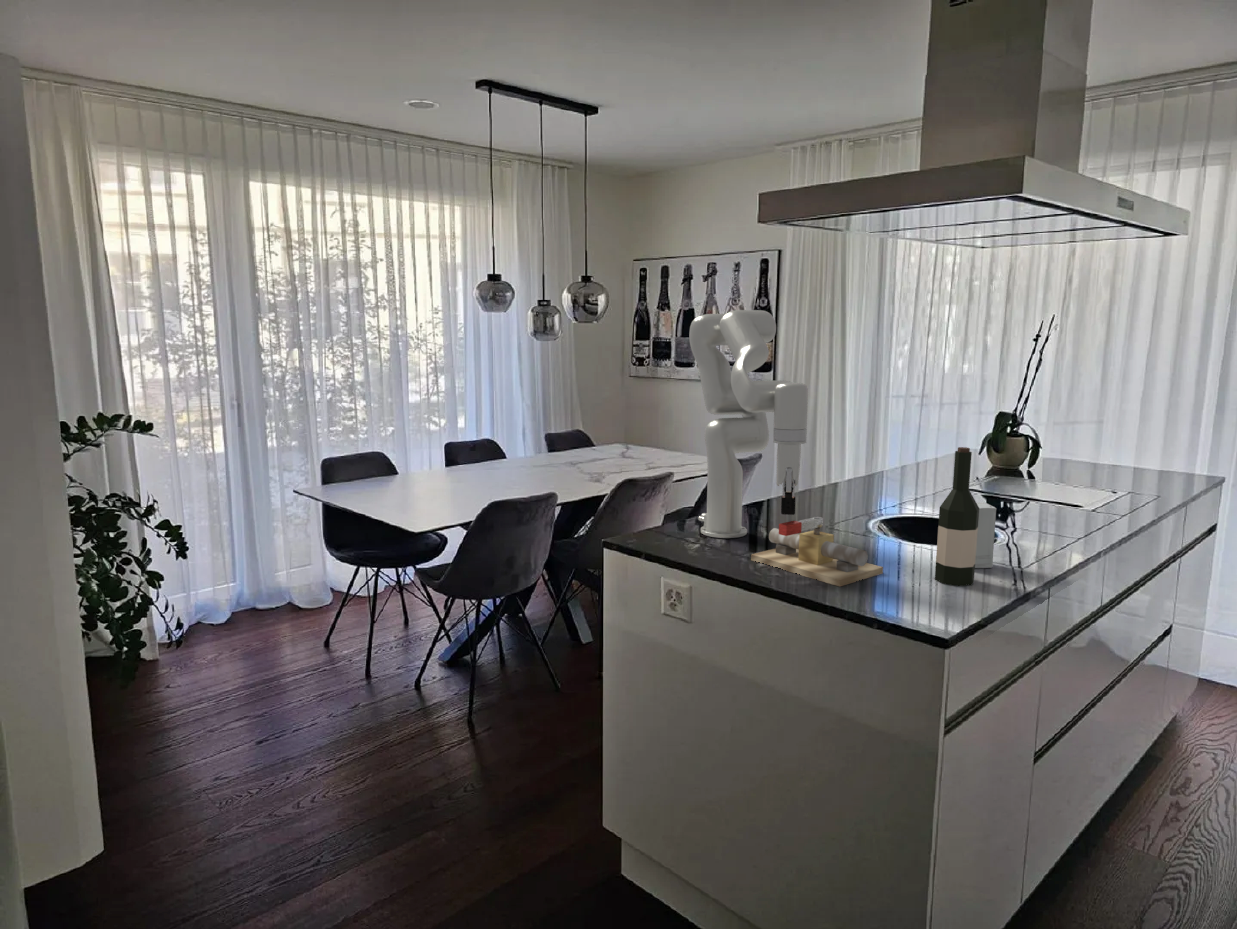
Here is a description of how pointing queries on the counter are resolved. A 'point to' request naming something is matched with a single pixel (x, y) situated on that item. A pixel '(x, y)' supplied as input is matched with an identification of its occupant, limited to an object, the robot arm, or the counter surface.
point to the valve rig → (817, 557)
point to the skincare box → (985, 536)
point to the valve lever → (800, 526)
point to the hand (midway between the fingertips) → (788, 513)
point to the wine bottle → (958, 528)
